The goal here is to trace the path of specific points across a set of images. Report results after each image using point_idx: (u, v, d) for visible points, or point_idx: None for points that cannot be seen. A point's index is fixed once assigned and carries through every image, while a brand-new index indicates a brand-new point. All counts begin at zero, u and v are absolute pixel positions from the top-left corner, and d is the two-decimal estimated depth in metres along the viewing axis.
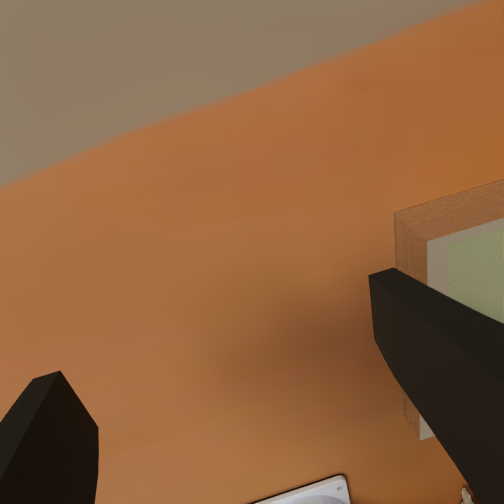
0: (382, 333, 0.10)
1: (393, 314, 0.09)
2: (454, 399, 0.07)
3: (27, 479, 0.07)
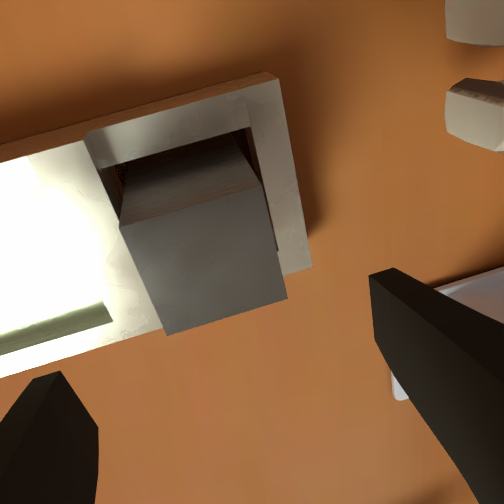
0: (382, 333, 0.10)
1: (393, 314, 0.09)
2: (454, 399, 0.07)
3: (27, 479, 0.07)
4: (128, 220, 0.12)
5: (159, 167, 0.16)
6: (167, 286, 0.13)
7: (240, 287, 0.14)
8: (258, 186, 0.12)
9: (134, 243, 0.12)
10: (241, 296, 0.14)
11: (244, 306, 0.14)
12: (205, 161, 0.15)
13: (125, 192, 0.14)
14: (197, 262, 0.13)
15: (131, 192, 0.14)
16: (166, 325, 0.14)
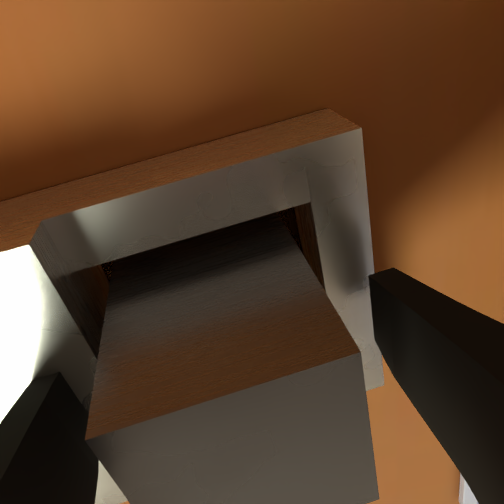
0: (382, 333, 0.10)
1: (393, 314, 0.09)
2: (454, 399, 0.07)
3: (27, 479, 0.07)
4: (105, 416, 0.06)
5: (162, 264, 0.10)
6: None
7: (304, 495, 0.08)
8: (354, 353, 0.06)
9: (117, 458, 0.06)
10: None
11: None
12: (237, 262, 0.09)
13: (105, 324, 0.08)
14: (232, 471, 0.07)
15: (115, 325, 0.08)
16: None
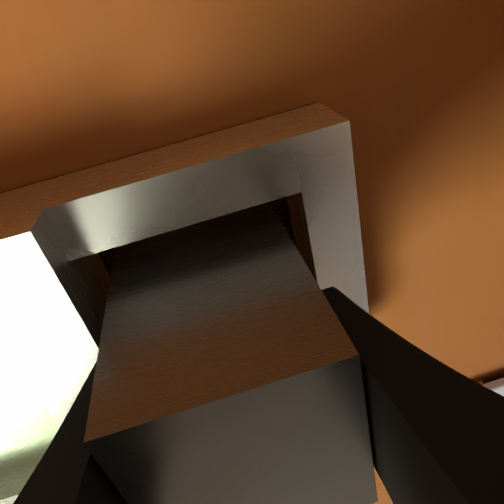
0: None
1: None
2: (376, 425, 0.07)
3: None
4: (104, 419, 0.06)
5: (161, 266, 0.10)
6: None
7: (302, 497, 0.08)
8: (352, 356, 0.06)
9: (116, 460, 0.06)
10: None
11: None
12: (237, 264, 0.09)
13: (105, 326, 0.08)
14: (230, 474, 0.07)
15: (115, 327, 0.08)
16: None
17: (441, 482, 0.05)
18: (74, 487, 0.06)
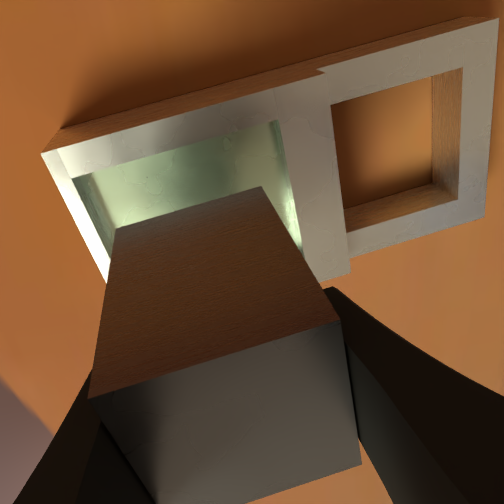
0: None
1: None
2: (376, 425, 0.07)
3: (110, 453, 0.07)
4: (106, 379, 0.07)
5: (159, 247, 0.10)
6: (173, 468, 0.08)
7: (290, 458, 0.09)
8: (334, 320, 0.07)
9: (117, 417, 0.07)
10: (291, 469, 0.09)
11: (294, 480, 0.09)
12: (230, 244, 0.10)
13: (106, 300, 0.09)
14: (223, 433, 0.08)
15: (115, 301, 0.09)
16: None
17: (441, 482, 0.05)
18: (74, 487, 0.06)
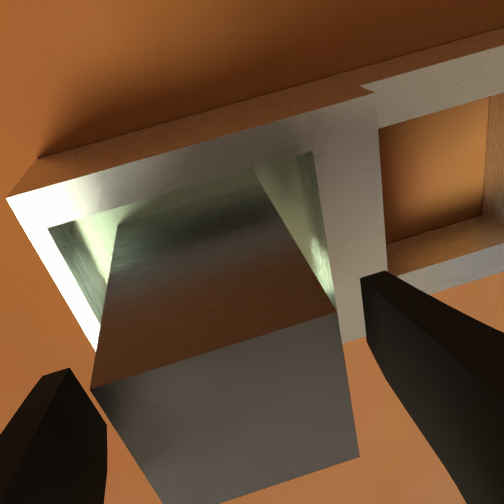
0: (374, 336, 0.10)
1: (383, 317, 0.09)
2: (443, 403, 0.07)
3: (39, 475, 0.07)
4: (108, 370, 0.07)
5: (160, 243, 0.11)
6: (174, 459, 0.08)
7: (289, 450, 0.09)
8: (331, 313, 0.07)
9: (119, 408, 0.07)
10: (290, 461, 0.09)
11: (293, 472, 0.09)
12: (230, 240, 0.10)
13: (108, 294, 0.09)
14: (222, 424, 0.08)
15: (117, 295, 0.09)
16: None
17: None
18: None
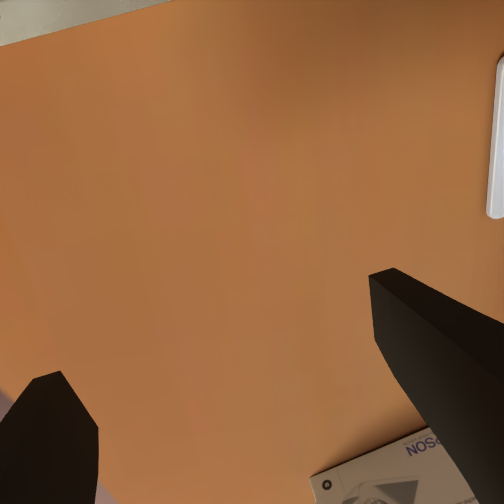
0: (382, 333, 0.10)
1: (393, 314, 0.09)
2: (454, 399, 0.07)
3: (27, 479, 0.07)
4: None
5: None
6: None
7: None
8: None
9: None
10: None
11: None
12: None
13: None
14: None
15: None
16: None
17: None
18: None
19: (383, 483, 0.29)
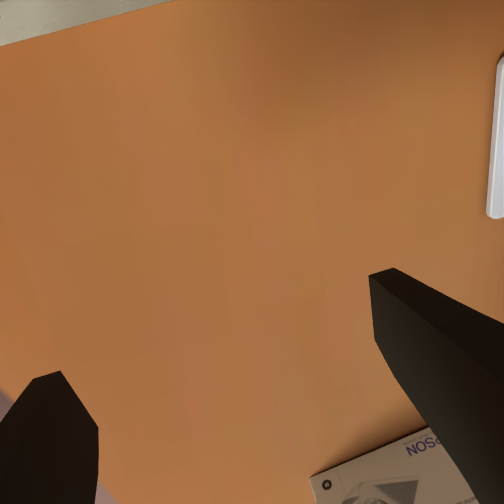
0: (382, 333, 0.10)
1: (393, 314, 0.09)
2: (454, 399, 0.07)
3: (27, 479, 0.07)
4: None
5: None
6: None
7: None
8: None
9: None
10: None
11: None
12: None
13: None
14: None
15: None
16: None
17: None
18: None
19: (383, 483, 0.29)
